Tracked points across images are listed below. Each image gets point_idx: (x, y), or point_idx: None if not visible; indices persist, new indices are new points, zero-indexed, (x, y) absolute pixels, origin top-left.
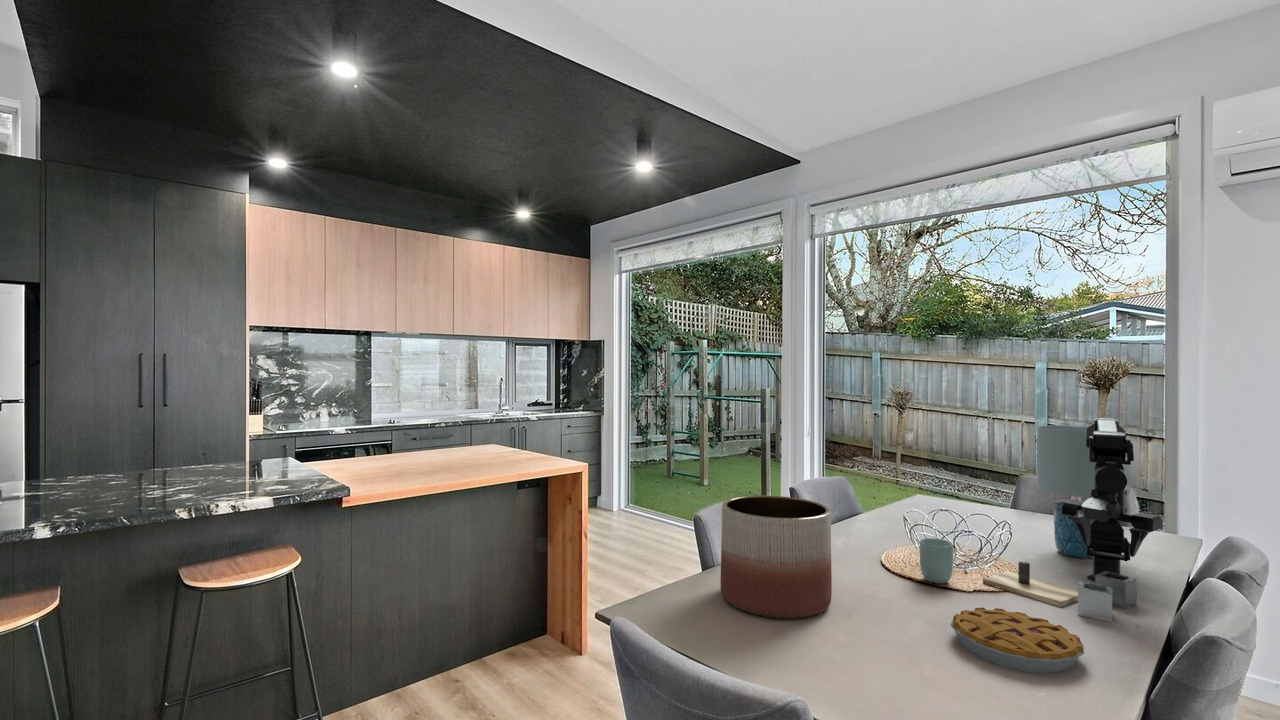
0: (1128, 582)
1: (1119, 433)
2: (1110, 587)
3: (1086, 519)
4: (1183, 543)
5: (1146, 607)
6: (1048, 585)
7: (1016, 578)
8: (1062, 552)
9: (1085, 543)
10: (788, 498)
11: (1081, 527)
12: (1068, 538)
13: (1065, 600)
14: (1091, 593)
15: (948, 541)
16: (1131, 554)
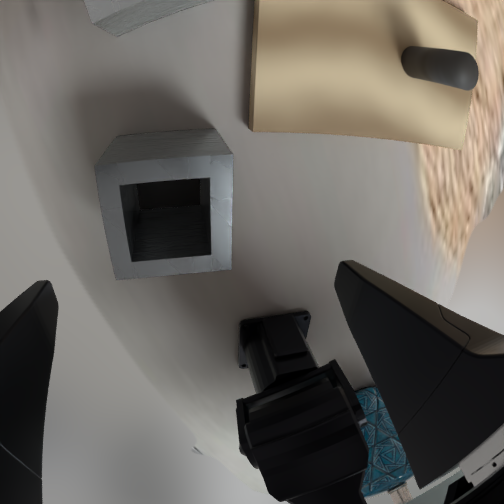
0: (100, 198)
1: None
2: (94, 6)
3: (449, 440)
4: (262, 491)
5: (97, 220)
6: (361, 97)
7: (437, 91)
8: (376, 387)
9: (358, 267)
10: None
11: (459, 334)
12: (380, 414)
13: None
14: None
15: None
16: (35, 286)
